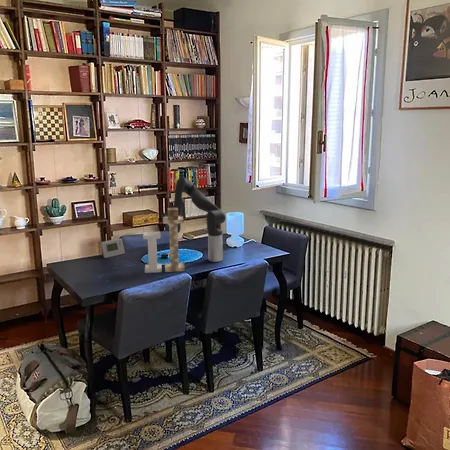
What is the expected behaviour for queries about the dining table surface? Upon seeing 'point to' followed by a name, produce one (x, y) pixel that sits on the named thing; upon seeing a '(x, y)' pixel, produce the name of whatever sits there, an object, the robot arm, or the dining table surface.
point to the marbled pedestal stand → (173, 245)
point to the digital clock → (112, 248)
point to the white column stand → (152, 252)
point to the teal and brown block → (172, 213)
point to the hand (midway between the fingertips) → (172, 212)
